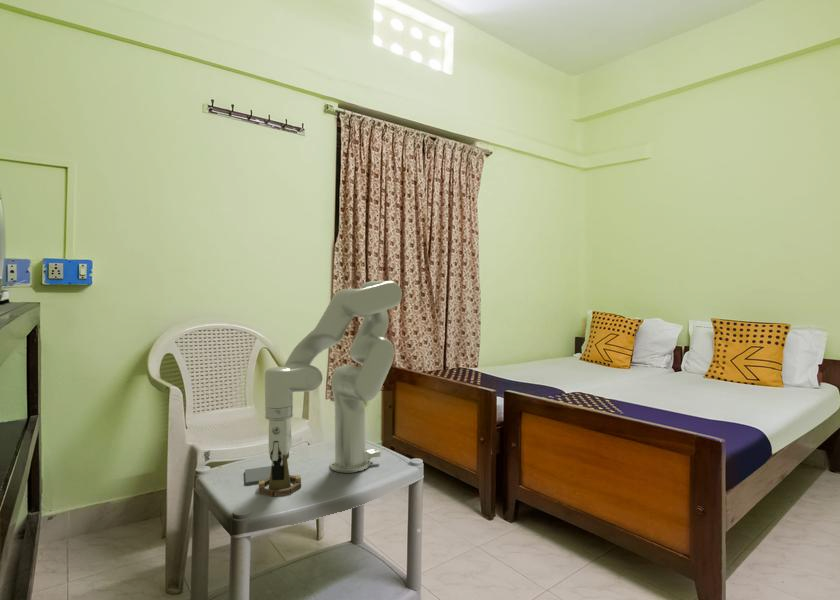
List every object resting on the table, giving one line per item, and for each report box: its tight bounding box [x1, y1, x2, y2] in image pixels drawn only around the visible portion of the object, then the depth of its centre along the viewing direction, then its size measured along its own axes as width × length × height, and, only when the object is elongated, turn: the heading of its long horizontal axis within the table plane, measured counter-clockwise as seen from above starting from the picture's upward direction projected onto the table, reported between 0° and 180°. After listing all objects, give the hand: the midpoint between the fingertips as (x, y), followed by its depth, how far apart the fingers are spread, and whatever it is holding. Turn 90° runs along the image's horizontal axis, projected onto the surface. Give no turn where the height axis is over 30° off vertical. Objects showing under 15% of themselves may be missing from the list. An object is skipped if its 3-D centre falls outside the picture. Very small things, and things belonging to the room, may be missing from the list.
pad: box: [244, 465, 272, 486], centre depth 137 cm, size 10×10×1 cm
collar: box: [258, 474, 302, 498], centre depth 129 cm, size 11×11×2 cm
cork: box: [268, 451, 292, 490], centre depth 129 cm, size 6×6×11 cm
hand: (279, 475), depth 129 cm, fingers closed on cork, 4 cm apart
